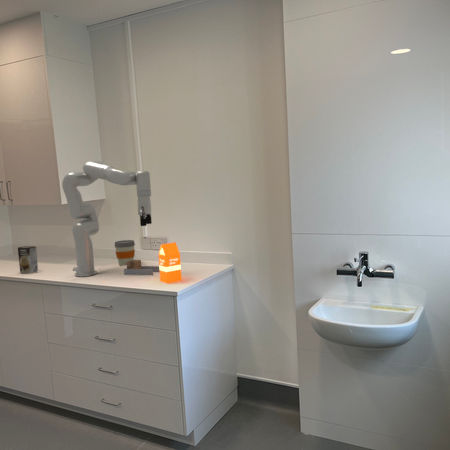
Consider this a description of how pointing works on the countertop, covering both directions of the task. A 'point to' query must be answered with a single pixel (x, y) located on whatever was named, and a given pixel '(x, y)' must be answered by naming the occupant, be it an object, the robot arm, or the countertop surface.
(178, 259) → the orange juice
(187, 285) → the countertop surface
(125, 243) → the reusable coffee cup
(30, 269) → the coffee box
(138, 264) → the block
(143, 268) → the chute
